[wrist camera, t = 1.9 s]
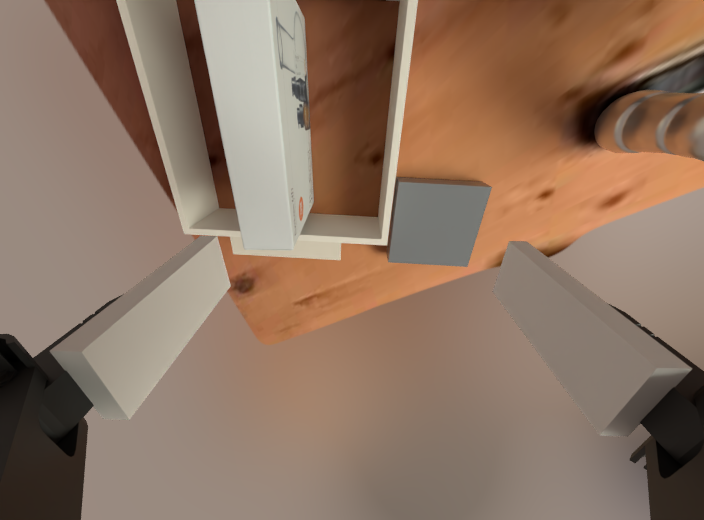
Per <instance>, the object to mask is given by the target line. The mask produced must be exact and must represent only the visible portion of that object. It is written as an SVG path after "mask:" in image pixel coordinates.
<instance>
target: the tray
mask: <svg viewBox="0 0 704 520" xmlns="http://www.w3.org/2000/svg"><path fill="white" fill-rule="evenodd" d="M388 1H400V3H399V13H398V23H397V33H396V43H395V52H394V62H393V72H392V82H391V92H390V102H389V112H388V122H387V132H386V141H385V151H384V161H383V171H382V181H381V191H380V201H379V211H378V217H368V216H351V215H333V214H316V213H309V214H308V217H307V219H306V221H305V224H304V226H303V228H302V230H301V233H300V235H299V237H298V240H297V242H296V244H295V246H294V249H293V250H245V249H244V247H243V241H242V236H241V231H240V226H239V221H238V216H237V211H236V209H227V208H219V204H218V199H217V195H216V190H215V185H214V180H213V175H212V171H211V166H210V161H209V156H208V151H207V147H206V142H205V137H204V132H203V127H202V123H201V118H200V113H199V108H198V103H197V99H196V94H195V89H194V84H193V79H192V74H191V70H190V65H189V60H188V55H187V50H186V46H185V41H184V36H183V31H182V26H181V22H180V17H179V12H178V7H177V2H176V0H116V2H117V5H118V8H119V12H120V15H121V19H122V22H123V26H124V29H125V33H126V36H127V39H128V43H129V46H130V50H131V53H132V57H133V60H134V63H135V67H136V70H137V74H138V77H139V81H140V84H141V88H142V91H143V94H144V98H145V101H146V105H147V108H148V112H149V115H150V118H151V122H152V125H153V129H154V132H155V136H156V139H157V143H158V146H159V149H160V153H161V156H162V160H163V163H164V167H165V170H166V173H167V177H168V180H169V184H170V187H171V191H172V194H173V198H174V201H175V204H176V208H177V211H178V215H179V218H180V222H181V225H182V228H183V232H184V234H195V235H212V236H230V239H231V244H232V249H233V254H242V255H259V256H277V257H294V258H311V259H329V260H341V243H352V244H370V245H387V242H388V234H389V226H390V218H391V210H392V202H393V194H394V186H395V179H396V171H397V163H398V155H399V147H400V139H401V131H402V123H403V115H404V107H405V99H406V91H407V83H408V76H409V68H410V60H411V52H412V44H413V36H414V28H415V20H416V12H417V4H418V0H388Z"/></svg>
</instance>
